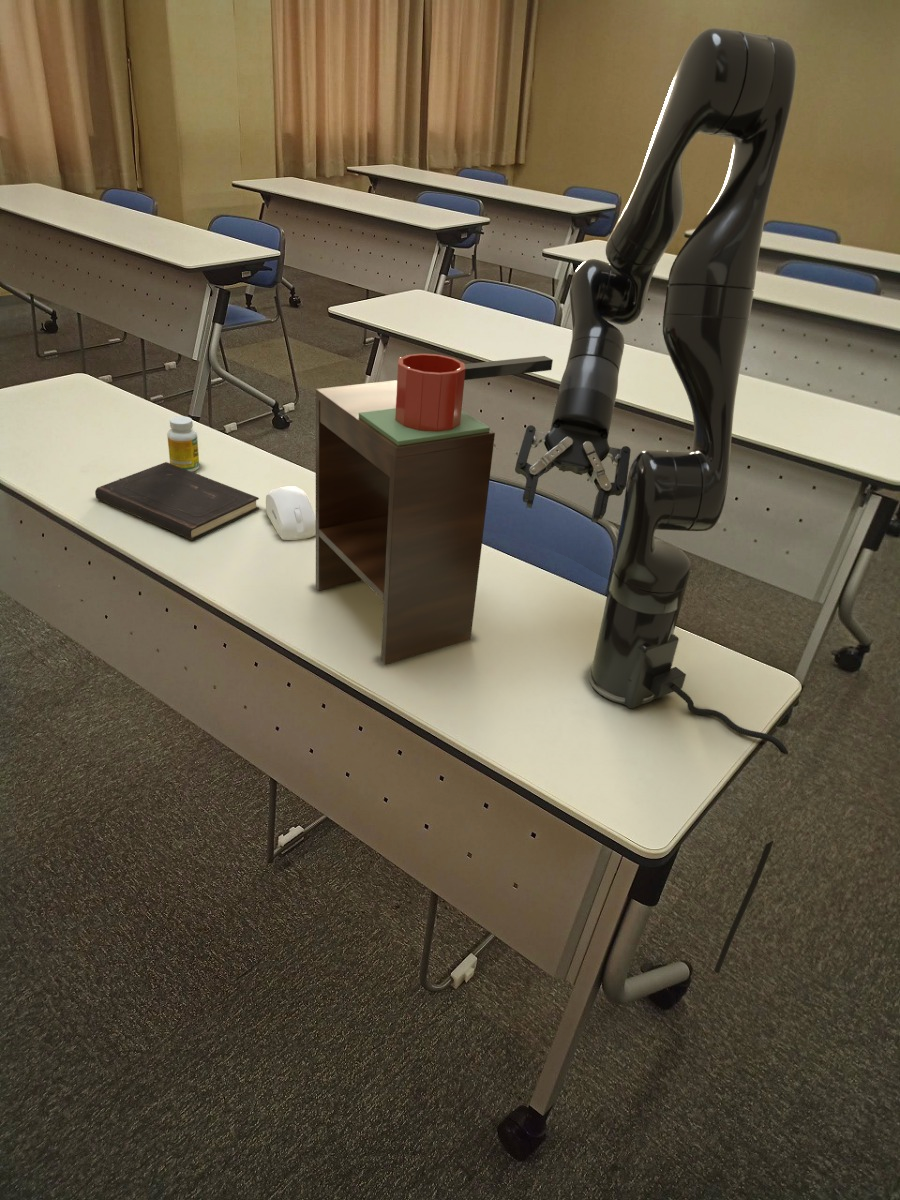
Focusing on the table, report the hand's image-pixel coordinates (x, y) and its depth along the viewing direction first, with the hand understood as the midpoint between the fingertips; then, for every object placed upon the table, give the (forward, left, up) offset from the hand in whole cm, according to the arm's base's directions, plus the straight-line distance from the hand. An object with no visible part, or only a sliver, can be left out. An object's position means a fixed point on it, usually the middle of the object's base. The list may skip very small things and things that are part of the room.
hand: (562, 513), depth 108 cm
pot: (+12, +6, +10) cm, 17 cm away
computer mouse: (+50, +16, -22) cm, 57 cm away
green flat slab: (+12, +14, +9) cm, 21 cm away
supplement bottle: (+79, +25, -22) cm, 86 cm away
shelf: (+18, +14, -22) cm, 32 cm away
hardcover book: (+64, +31, -22) cm, 74 cm away
